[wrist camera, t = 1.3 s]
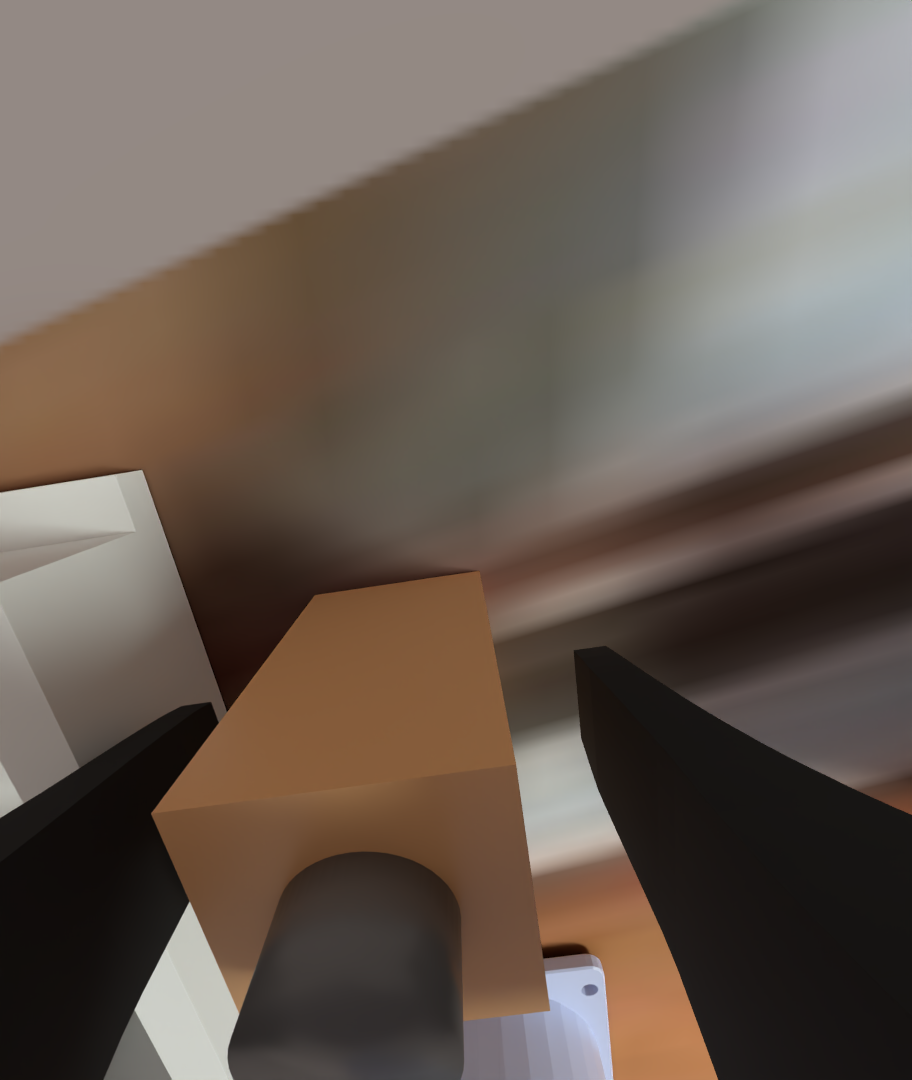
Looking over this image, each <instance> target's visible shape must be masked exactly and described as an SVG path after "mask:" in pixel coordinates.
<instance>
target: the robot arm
mask: <svg viewBox="0 0 912 1080" xmlns="http://www.w3.org/2000/svg"><path fill="white" fill-rule="evenodd" d="M574 659H575V671H576V682H577V694H578V706H579V717H580V729H581V739H582V742H583V745H584V748H585V751H586V754H587V757H588V760H589V764H590V767H591V770H592V773H593V776H594V779H595V782H596V784H597V787H598V790H599V793H600V795H601V797H602V799H603V802H604V804H605V806H606V808H607V811H608V813H609V815H610V817H611V820H612V822H613V824H614V826H615V828H616V831H617V833H618V835H619V837H620V840H621V842H622V844H623V846H624V848H625V851H626V853H627V855H628V857H629V859H630V862H631V864H632V866H633V868H634V870H635V872H636V875H637V877H638V879H639V881H640V883H641V886H642V888H643V890H644V892H645V894H646V897H647V899H648V901H649V903H650V905H651V908H652V910H653V912H654V914H655V916H656V919H657V921H658V923H659V925H660V927H661V930H662V932H663V935H664V937H665V939H666V942H667V944H668V947H669V949H670V951H671V954H672V956H673V959H674V961H675V963H676V966H677V968H678V971H679V974H680V976H681V979H682V982H683V985H684V987H685V990H686V993H687V995H688V998H689V1001H690V1004H691V1006H692V1009H693V1012H694V1014H695V1017H696V1020H697V1023H698V1025H699V1028H700V1031H701V1034H702V1036H703V1039H704V1042H705V1044H706V1047H707V1050H708V1053H709V1055H710V1058H711V1061H712V1064H713V1066H714V1069H715V1072H716V1075H717V1077H718V1080H912V815H911V814H908V813H906V812H904V811H901V810H899V809H896V808H894V807H892V806H890V805H888V804H885V803H883V802H881V801H879V800H876V799H874V798H872V797H870V796H868V795H865V794H863V793H861V792H859V791H857V790H854V789H852V788H850V787H848V786H846V785H844V784H842V783H840V782H838V781H836V780H834V779H832V778H830V777H828V776H826V775H824V774H822V773H819V772H817V771H815V770H813V769H811V768H809V767H807V766H805V765H803V764H801V763H799V762H797V761H795V760H793V759H791V758H789V757H787V756H785V755H783V754H781V753H779V752H778V751H776V750H774V749H772V748H770V747H768V746H766V745H764V744H762V743H761V742H759V741H757V740H755V739H753V738H752V737H750V736H748V735H746V734H745V733H743V732H741V731H739V730H738V729H736V728H734V727H732V726H730V725H729V724H727V723H725V722H723V721H722V720H720V719H718V718H717V717H715V716H713V715H712V714H710V713H708V712H707V711H705V710H703V709H702V708H700V707H698V706H697V705H695V704H693V703H692V702H690V701H689V700H687V699H685V698H684V697H682V696H681V695H679V694H677V693H676V692H674V691H673V690H671V689H670V688H668V687H667V686H665V685H663V684H662V683H660V682H659V681H657V680H656V679H654V678H653V677H651V676H650V675H648V674H647V673H645V672H644V671H642V670H641V669H639V668H638V667H636V666H635V665H633V664H632V663H631V662H629V661H628V660H626V659H625V658H623V657H622V656H620V655H619V654H617V653H616V652H614V651H613V650H611V649H609V648H608V647H606V646H602V647H595V648H587V649H580V650H574ZM218 724H219V722H218V719H217V716H216V714H215V711H214V708H213V705H212V703H211V702H206V703H199V704H192V705H185V706H180V707H179V708H177V709H175V710H173V711H171V712H169V713H167V714H165V715H163V716H162V717H160V718H158V719H157V720H155V721H153V722H151V723H150V724H148V725H146V726H145V727H143V728H142V729H140V730H138V731H137V732H135V733H134V734H132V735H130V736H129V737H127V738H126V739H124V740H122V741H121V742H119V743H118V744H116V745H115V746H113V747H112V748H110V749H108V750H107V751H105V752H104V753H102V754H101V755H99V756H97V757H96V758H94V759H93V760H91V761H90V762H88V763H87V764H85V765H84V766H82V767H80V768H79V769H77V770H76V771H74V772H73V773H71V774H70V775H68V776H66V777H65V778H63V779H62V780H60V781H59V782H57V783H56V784H54V785H52V786H51V787H49V788H48V789H46V790H45V791H43V792H41V793H40V794H38V795H37V796H35V797H33V798H32V799H30V800H28V801H27V802H25V803H24V804H22V805H20V806H19V807H17V808H15V809H14V810H12V811H11V812H9V813H7V814H6V815H4V816H3V817H1V818H0V1080H104V1077H105V1075H106V1073H107V1070H108V1068H109V1066H110V1063H111V1061H112V1059H113V1056H114V1054H115V1052H116V1049H117V1047H118V1045H119V1042H120V1040H121V1038H122V1035H123V1033H124V1031H125V1029H126V1027H127V1025H128V1023H129V1020H130V1018H131V1016H132V1014H133V1012H134V1010H135V1008H136V1006H137V1004H138V1002H139V1000H140V997H141V995H142V993H143V991H144V989H145V987H146V985H147V984H148V982H149V980H150V978H151V976H152V974H153V972H154V970H155V968H156V966H157V964H158V962H159V960H160V958H161V956H162V954H163V952H164V950H165V949H166V947H167V945H168V943H169V941H170V939H171V937H172V935H173V933H174V931H175V929H176V927H177V925H178V923H179V921H180V919H181V917H182V916H183V914H184V912H185V910H186V908H187V906H188V904H189V902H190V901H189V899H188V896H187V894H186V892H185V890H184V887H183V885H182V883H181V880H180V878H179V876H178V874H177V871H176V869H175V867H174V865H173V862H172V860H171V858H170V856H169V853H168V851H167V849H166V846H165V844H164V842H163V840H162V837H161V835H160V833H159V831H158V828H157V826H156V824H155V821H154V819H153V817H152V815H151V813H152V812H153V810H154V809H155V808H156V806H157V805H158V804H159V802H160V801H161V800H162V798H163V797H164V796H165V794H166V793H167V792H168V790H169V789H170V788H171V786H172V785H173V784H174V782H175V781H176V780H177V778H178V777H179V776H180V774H181V773H182V772H183V770H184V769H185V768H186V766H187V765H188V764H189V762H190V761H191V760H192V758H193V757H194V756H195V754H196V753H197V752H198V750H199V749H200V748H201V746H202V745H203V744H204V742H205V741H206V740H207V738H208V737H209V736H210V734H211V733H212V732H213V730H214V729H215V728H216V726H217V725H218ZM543 961H544V969H545V976H546V983H547V990H548V997H549V1004H550V1011H545V1012H536V1013H528V1014H519V1015H511V1016H502V1017H494V1018H485V1019H477V1020H469V1021H463V1029H464V1069H463V1074H462V1077H461V1080H613V1071H612V1060H611V1048H610V1036H609V1024H608V1012H607V1001H606V989H605V977H604V972H603V969H602V965H601V962H600V959H598V958H597V957H596V956H594V955H591V954H577V955H569V956H561V957H553V958H544V959H543Z"/></svg>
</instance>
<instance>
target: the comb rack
mask: <svg viewBox="0 0 912 1080" xmlns="http://www.w3.org/2000/svg"><path fill="white" fill-rule="evenodd" d="M206 702H211V703H212V705H213V708H214V711H215V714H216V716H217V719H218V722H220V721H221V720H222V718H223V717H224V716H225V714H226V713H227V711H226V708H225V705H224V702H223V699H222V696H221V694H220V691H219V688H218V685H217V682H216V679H215V676H214V674H213V671H212V668H211V665H210V662H209V659H208V656H207V654H206V651H205V648H204V645H203V642H202V639H201V636H200V634H199V631H198V628H197V625H196V622H195V619H194V616H193V614H192V611H191V608H190V605H189V602H188V599H187V596H186V594H185V591H184V588H183V585H182V582H181V579H180V577H179V574H178V571H177V568H176V565H175V562H174V559H173V557H172V554H171V551H170V548H169V545H168V542H167V539H166V537H165V534H164V531H163V528H162V525H161V522H160V519H159V517H158V514H157V511H156V508H155V505H154V502H153V499H152V497H151V494H150V491H149V488H148V485H147V482H146V479H145V477H144V474H143V471H142V470H138V471H132V472H126V473H120V474H113V475H107V476H101V477H94V478H88V479H82V480H75V481H69V482H63V483H56V484H50V485H44V486H37V487H31V488H25V489H18V490H12V491H6V492H0V818H1V817H3V816H4V815H6V814H7V813H9V812H11V811H12V810H14V809H15V808H17V807H19V806H20V805H22V804H24V803H25V802H27V801H28V800H30V799H32V798H33V797H35V796H37V795H38V794H40V793H41V792H43V791H45V790H46V789H48V788H49V787H51V786H52V785H54V784H56V783H57V782H59V781H60V780H62V779H63V778H65V777H66V776H68V775H70V774H71V773H73V772H74V771H76V770H77V769H79V768H80V767H82V766H84V765H85V764H87V763H88V762H90V761H91V760H93V759H94V758H96V757H97V756H99V755H101V754H102V753H104V752H105V751H107V750H108V749H110V748H112V747H113V746H115V745H116V744H118V743H119V742H121V741H122V740H124V739H126V738H127V737H129V736H130V735H132V734H134V733H135V732H137V731H138V730H140V729H142V728H143V727H145V726H146V725H148V724H150V723H151V722H153V721H155V720H157V719H158V718H160V717H162V716H163V715H165V714H167V713H169V712H171V711H173V710H175V709H177V708H179V707H180V706H185V705H192V704H199V703H206ZM238 1016H239V1012H238V1010H237V1008H236V1005H235V1003H234V1001H233V999H232V996H231V994H230V992H229V989H228V987H227V985H226V983H225V980H224V978H223V976H222V974H221V971H220V969H219V967H218V965H217V962H216V960H215V958H214V955H213V953H212V951H211V949H210V946H209V944H208V942H207V940H206V937H205V935H204V933H203V930H202V928H201V926H200V924H199V921H198V919H197V917H196V915H195V912H194V910H193V908H192V905H191V903H190V902H189V904H188V906H187V908H186V910H185V912H184V914H183V916H182V917H181V919H180V921H179V923H178V925H177V927H176V929H175V931H174V933H173V935H172V937H171V939H170V941H169V943H168V945H167V947H166V949H165V950H164V952H163V954H162V956H161V958H160V960H159V962H158V964H157V966H156V968H155V970H154V972H153V974H152V976H151V978H150V980H149V982H148V984H147V985H146V987H145V989H144V991H143V993H142V995H141V997H140V1000H139V1002H138V1004H137V1006H136V1008H135V1010H134V1012H133V1014H132V1016H131V1018H130V1020H129V1023H128V1025H127V1027H126V1029H125V1031H124V1033H123V1035H122V1038H121V1040H120V1042H119V1045H118V1047H117V1049H116V1052H115V1054H114V1056H113V1059H112V1061H111V1063H110V1066H109V1068H108V1070H107V1073H106V1075H105V1077H104V1080H233V1078H232V1075H231V1073H230V1070H229V1066H228V1060H227V1056H228V1046H229V1043H230V1039H231V1036H232V1033H233V1030H234V1028H235V1025H236V1022H237V1019H238Z"/></svg>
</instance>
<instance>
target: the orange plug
mask: <svg viewBox="0 0 912 1080" xmlns="http://www.w3.org/2000/svg"><path fill="white" fill-rule="evenodd" d="M151 815H152V817H153V819H154V821H155V824H156V826H157V828H158V831H159V833H160V835H161V837H162V840H163V842H164V844H165V846H166V849H167V851H168V853H169V856H170V858H171V860H172V862H173V865H174V867H175V869H176V871H177V874H178V876H179V878H180V880H181V883H182V885H183V887H184V890H185V892H186V894H187V896H188V899H189V901H190V903H191V905H192V908H193V910H194V912H195V915H196V917H197V919H198V921H199V924H200V926H201V928H202V930H203V933H204V935H205V937H206V940H207V942H208V944H209V946H210V949H211V951H212V953H213V955H214V958H215V960H216V962H217V965H218V967H219V969H220V971H221V974H222V976H223V978H224V980H225V983H226V985H227V987H228V989H229V992H230V994H231V996H232V999H233V1001H234V1003H235V1005H236V1008H237V1010H238V1012H239V1016H238V1019H237V1022H236V1025H235V1028H234V1030H233V1033H232V1036H231V1039H230V1043H229V1046H228V1056H227V1060H228V1066H229V1070H230V1073H231V1075H232V1078H233V1080H461V1077H462V1074H463V1069H464V1029H463V1021H469V1020H477V1019H485V1018H494V1017H502V1016H511V1015H519V1014H528V1013H536V1012H545V1011H550V1004H549V997H548V990H547V983H546V976H545V969H544V961H543V954H542V947H541V940H540V933H539V926H538V919H537V911H536V904H535V897H534V890H533V883H532V876H531V868H530V861H529V854H528V847H527V840H526V833H525V826H524V818H523V811H522V804H521V797H520V790H519V783H518V775H517V768H516V762H515V757H514V751H513V746H512V741H511V736H510V730H509V725H508V720H507V714H506V709H505V704H504V698H503V693H502V688H501V683H500V677H499V672H498V667H497V661H496V656H495V651H494V646H493V640H492V635H491V630H490V624H489V619H488V614H487V608H486V603H485V598H484V593H483V587H482V582H481V577H480V571H475V572H468V573H461V574H454V575H448V576H441V577H434V578H427V579H421V580H414V581H407V582H400V583H393V584H387V585H380V586H373V587H366V588H360V589H353V590H346V591H339V592H333V593H326V594H319V595H315V596H314V597H313V598H312V600H311V601H310V602H309V604H308V605H307V606H306V608H305V609H304V610H303V612H302V613H301V614H300V616H299V617H298V618H297V620H296V621H295V622H294V624H293V625H292V626H291V628H290V629H289V630H288V632H287V633H286V634H285V636H284V637H283V638H282V640H281V641H280V642H279V644H278V645H277V646H276V648H275V649H274V650H273V652H272V653H271V654H270V656H269V657H268V658H267V660H266V661H265V662H264V664H263V665H262V666H261V668H260V669H259V670H258V672H257V673H256V674H255V676H254V677H253V678H252V680H251V681H250V682H249V684H248V685H247V686H246V688H245V689H244V690H243V692H242V693H241V694H240V696H239V697H238V698H237V700H236V701H235V702H234V704H233V705H232V706H231V708H230V709H229V710H228V712H227V713H226V714H225V716H224V717H223V718H222V720H221V721H220V722H219V724H218V725H217V726H216V728H215V729H214V730H213V732H212V733H211V734H210V736H209V737H208V738H207V740H206V741H205V742H204V744H203V745H202V746H201V748H200V749H199V750H198V752H197V753H196V754H195V756H194V757H193V758H192V760H191V761H190V762H189V764H188V765H187V766H186V768H185V769H184V770H183V772H182V773H181V774H180V776H179V777H178V778H177V780H176V781H175V782H174V784H173V785H172V786H171V788H170V789H169V790H168V792H167V793H166V794H165V796H164V797H163V798H162V800H161V801H160V802H159V804H158V805H157V806H156V808H155V809H154V810H153V812H152V813H151Z"/></svg>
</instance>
